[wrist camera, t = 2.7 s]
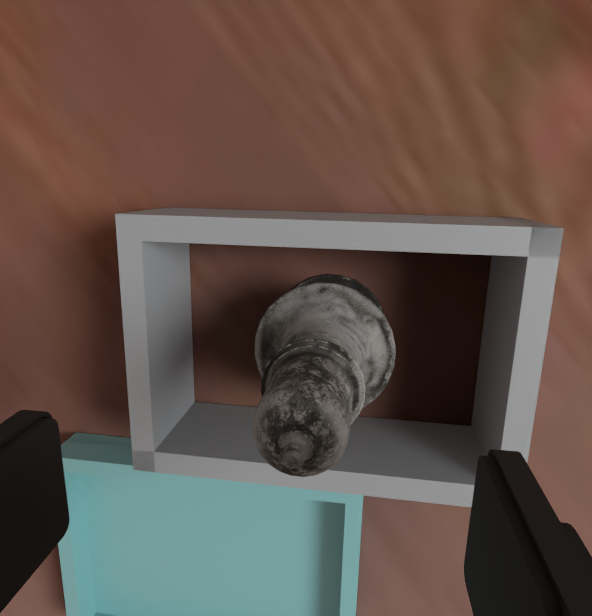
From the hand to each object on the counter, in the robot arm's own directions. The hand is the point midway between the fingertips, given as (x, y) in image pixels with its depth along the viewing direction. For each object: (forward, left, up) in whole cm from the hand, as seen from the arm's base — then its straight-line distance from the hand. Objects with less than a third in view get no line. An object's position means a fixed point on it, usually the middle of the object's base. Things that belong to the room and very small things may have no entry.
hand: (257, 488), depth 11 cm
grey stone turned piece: (0, 0, -14) cm, 14 cm away
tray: (+6, +13, -14) cm, 20 cm away
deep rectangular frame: (0, 0, -14) cm, 14 cm away
